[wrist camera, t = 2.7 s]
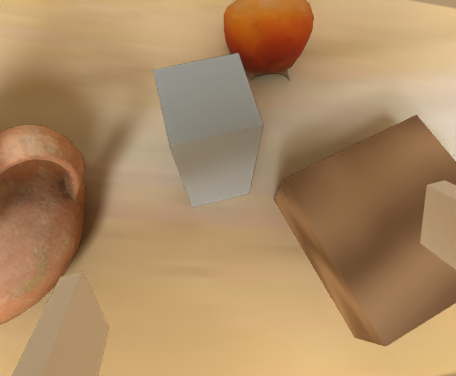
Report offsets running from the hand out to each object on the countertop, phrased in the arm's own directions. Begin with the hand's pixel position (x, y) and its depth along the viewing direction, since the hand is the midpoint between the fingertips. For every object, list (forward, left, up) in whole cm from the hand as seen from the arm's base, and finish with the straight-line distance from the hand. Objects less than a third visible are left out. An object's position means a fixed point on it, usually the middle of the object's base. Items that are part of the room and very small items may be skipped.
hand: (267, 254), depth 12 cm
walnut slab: (+1, +11, -14) cm, 18 cm away
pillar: (-9, +1, -13) cm, 16 cm away
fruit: (-19, +11, -13) cm, 26 cm away
